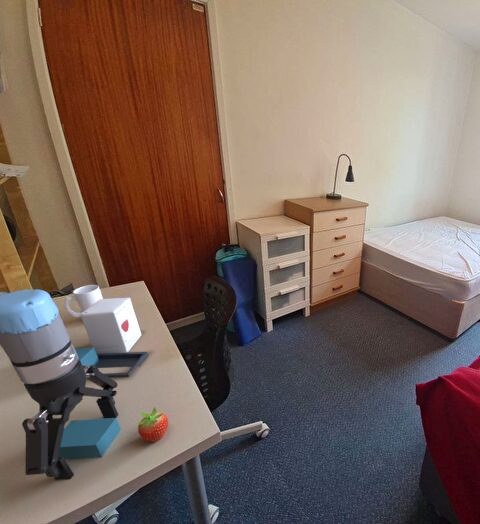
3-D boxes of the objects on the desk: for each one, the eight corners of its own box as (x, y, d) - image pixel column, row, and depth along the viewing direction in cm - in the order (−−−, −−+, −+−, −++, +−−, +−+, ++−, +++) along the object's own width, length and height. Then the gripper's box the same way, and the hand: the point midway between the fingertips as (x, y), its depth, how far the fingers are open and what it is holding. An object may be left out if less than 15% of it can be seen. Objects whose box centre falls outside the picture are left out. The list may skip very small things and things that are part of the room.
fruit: (175, 426, 65) (168, 402, 62) (166, 449, 60) (157, 423, 57) (150, 429, 64) (141, 404, 61) (138, 452, 59) (127, 426, 56)
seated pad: (47, 378, 76) (40, 363, 74) (66, 362, 82) (59, 348, 80) (83, 376, 77) (77, 362, 75) (99, 360, 82) (94, 347, 80)
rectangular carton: (128, 353, 86) (113, 312, 80) (95, 356, 85) (77, 314, 79) (143, 335, 94) (130, 296, 89) (113, 337, 93) (98, 298, 87)
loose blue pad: (56, 464, 57) (46, 448, 55) (79, 435, 62) (71, 420, 60) (103, 460, 58) (96, 444, 56) (122, 433, 63) (116, 417, 61)
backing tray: (36, 384, 75) (32, 378, 74) (64, 360, 83) (62, 354, 82) (130, 380, 77) (128, 374, 76) (149, 356, 85) (147, 351, 85)
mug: (108, 310, 107) (97, 282, 102) (110, 318, 102) (99, 289, 98) (72, 321, 100) (59, 291, 96) (73, 329, 96) (59, 299, 91)
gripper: (6, 431, 41) (62, 514, 49) (118, 329, 63) (143, 398, 71) (-52, 435, 40) (15, 519, 48) (82, 330, 62) (112, 399, 71)
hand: (91, 447), depth 60 cm, fingers open, 12 cm apart
